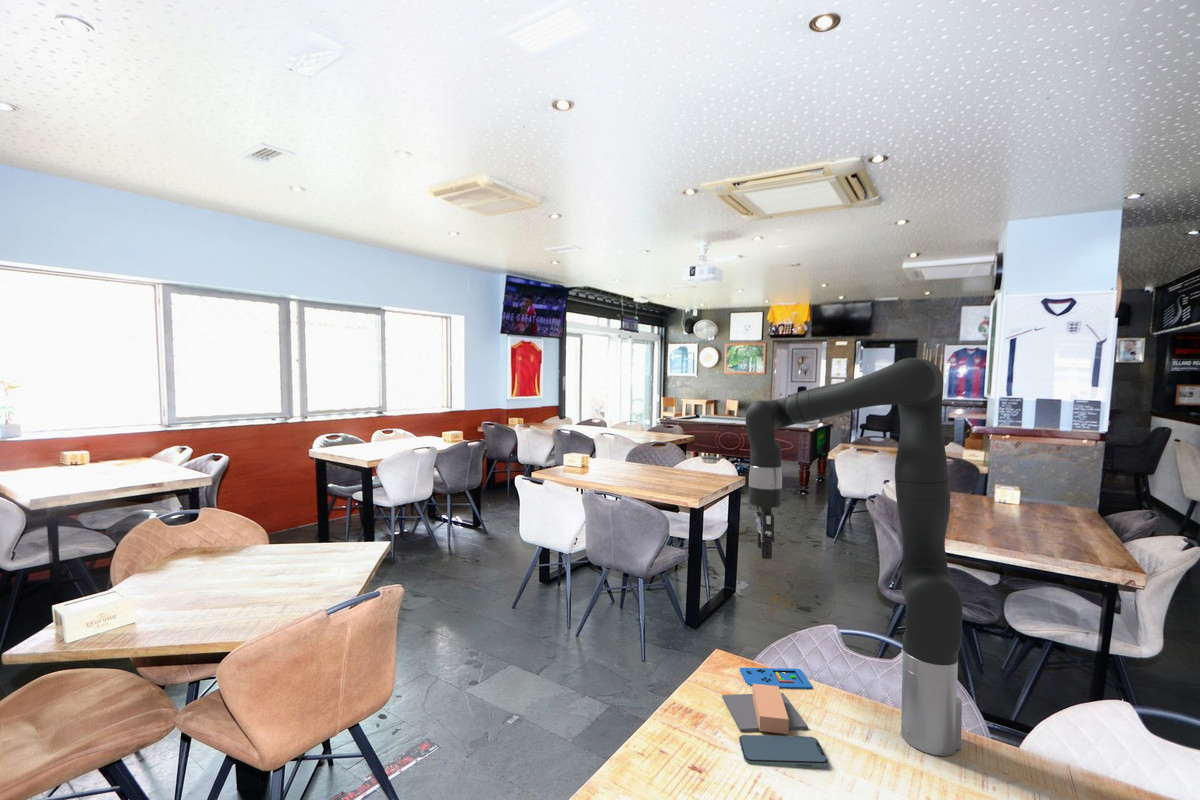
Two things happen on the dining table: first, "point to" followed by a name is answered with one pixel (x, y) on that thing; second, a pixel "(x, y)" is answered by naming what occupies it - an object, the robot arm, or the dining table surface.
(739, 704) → the rubber mat
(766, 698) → the tan rectangular block
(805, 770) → the dining table surface
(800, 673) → the handheld gaming device
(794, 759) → the smartphone
